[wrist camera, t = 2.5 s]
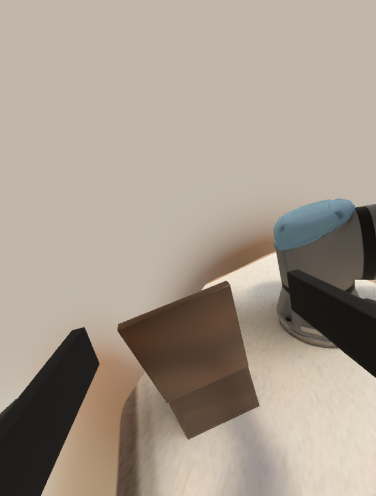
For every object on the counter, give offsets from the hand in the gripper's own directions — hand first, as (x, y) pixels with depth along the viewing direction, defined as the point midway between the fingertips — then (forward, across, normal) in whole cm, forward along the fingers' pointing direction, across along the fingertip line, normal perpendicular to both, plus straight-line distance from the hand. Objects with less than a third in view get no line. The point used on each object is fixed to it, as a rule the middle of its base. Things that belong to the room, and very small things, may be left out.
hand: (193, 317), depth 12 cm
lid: (+9, -1, -9) cm, 12 cm away
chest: (+18, 0, -24) cm, 30 cm away
